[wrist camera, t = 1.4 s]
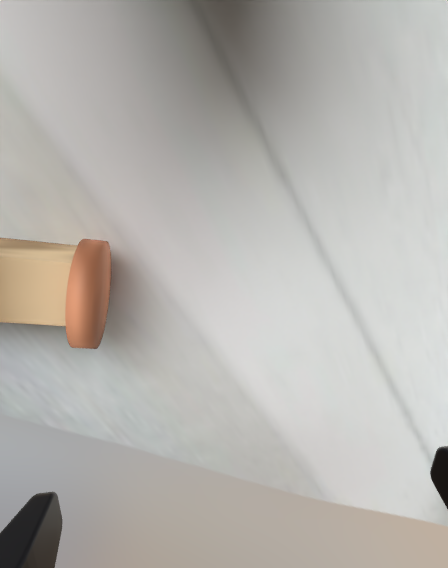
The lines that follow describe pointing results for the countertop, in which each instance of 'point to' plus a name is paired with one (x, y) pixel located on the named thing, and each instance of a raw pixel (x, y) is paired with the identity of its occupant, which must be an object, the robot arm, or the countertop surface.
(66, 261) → the lynch pin
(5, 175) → the countertop surface
